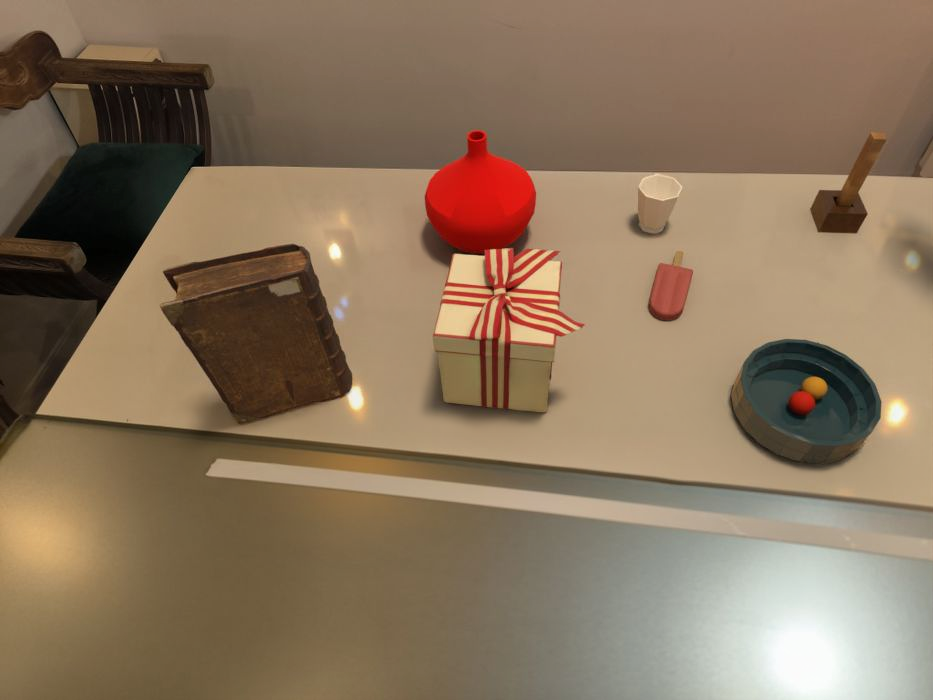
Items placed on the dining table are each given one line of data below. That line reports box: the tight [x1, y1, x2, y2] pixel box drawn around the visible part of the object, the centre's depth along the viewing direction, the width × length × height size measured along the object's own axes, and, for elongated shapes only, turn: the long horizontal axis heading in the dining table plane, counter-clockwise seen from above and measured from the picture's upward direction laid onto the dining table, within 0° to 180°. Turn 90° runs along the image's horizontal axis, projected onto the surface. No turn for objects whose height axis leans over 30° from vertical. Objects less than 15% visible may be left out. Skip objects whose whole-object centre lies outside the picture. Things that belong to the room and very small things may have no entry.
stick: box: [835, 131, 887, 207], centre depth 96 cm, size 2×2×16 cm
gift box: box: [432, 247, 586, 413], centre depth 81 cm, size 17×18×17 cm
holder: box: [810, 189, 869, 234], centre depth 101 cm, size 6×6×4 cm
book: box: [159, 243, 354, 425], centre depth 77 cm, size 17×7×25 cm, turn 100°
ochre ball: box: [801, 377, 827, 399], centre depth 80 cm, size 3×3×3 cm
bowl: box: [730, 338, 883, 465], centre depth 78 cm, size 16×16×5 cm
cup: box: [637, 173, 683, 235], centre depth 102 cm, size 7×10×8 cm
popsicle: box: [648, 250, 694, 321], centre depth 95 cm, size 5×2×15 cm
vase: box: [424, 129, 537, 255], centre depth 98 cm, size 18×18×19 cm
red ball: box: [789, 391, 815, 415], centre depth 78 cm, size 3×3×3 cm
